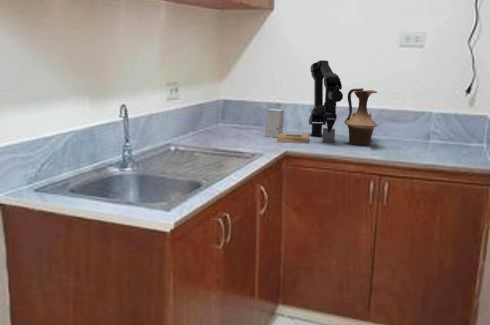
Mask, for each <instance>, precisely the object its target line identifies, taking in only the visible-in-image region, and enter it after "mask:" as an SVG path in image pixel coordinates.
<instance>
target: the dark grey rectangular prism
mask: <svg viewBox="0 0 490 325" xmlns="http://www.w3.org/2000/svg"><path fill="white" fill-rule="evenodd" d="M335 137H336V128H332V129H331V132H328V128H327V127H326V128H325V127H322V143H324V144H334V143H335Z"/></svg>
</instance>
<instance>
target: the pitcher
mask: <svg viewBox="0 0 490 325" xmlns="http://www.w3.org/2000/svg"><path fill="white" fill-rule="evenodd" d="M352 93H354V94H355V96H356V98H358V107H357V110H356V111H355V112H356V114H355V115H354V116H353V117H352V114H353V104H352ZM377 93H378V91H377V90H371V89H370V90H368V89H367V90H364V88H361V87H360V88H352V89H350V90H349V91H348V93H347V102H348V110H349V111H348V115H347V118H346V119H345V120H344V121H343V124H345V125H346V126H347V128H348V143H349V144H352V145H357V146H369V145H371V141H372V136H373V132H374V129H375V128H376V127H378V126H379V124H378V123H377V122H376V121H374V120H373V119H372V117H371V118H370V116H369V114H368V108H367V106H368V99H369V97H370V96H371V95H372V94H377Z"/></svg>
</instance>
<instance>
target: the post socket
mask: <svg viewBox="0 0 490 325" xmlns="http://www.w3.org/2000/svg"><path fill="white" fill-rule="evenodd" d="M276 138H277V139H276V142H277V143H291V144H292V143H294V144H309V143H310V134H304V133H303V134H302V133H283V132H282V133H279V135H278V137H276Z"/></svg>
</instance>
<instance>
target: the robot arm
mask: <svg viewBox="0 0 490 325" xmlns="http://www.w3.org/2000/svg"><path fill="white" fill-rule="evenodd" d="M310 74H311V77H312V79H313V80H314V82H313V83H314V84H313V86H314V89H313V90H314V93H313V95H314V99H313V100H314V101H313V104H314V106H313V108H312V110H311V112H310V113H311V114H310V115H309V119H308V125H310V126H311V132H310V137H311V136H312V137H323V126H327V127H326V128H328V132H331V129H333V127H334V125H335V123H336V121H337V119H338V116H337V115H338V114H337V103H339V102H341V101H342V100H343V98H344V94H343V92H342V91H341V90H342V87H343V84H342V81H341V78H340V77H339V75H338V74H337V73H335V72H334V71H333V70H332V68H331V67H330V64H329V61H328V60H325V59H324V60H323V59H322V60H318V61H316V62H314V63H312V64H311V65H310ZM324 88H325V95H324ZM323 95H324V96H323ZM323 100H324V101H323Z"/></svg>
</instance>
